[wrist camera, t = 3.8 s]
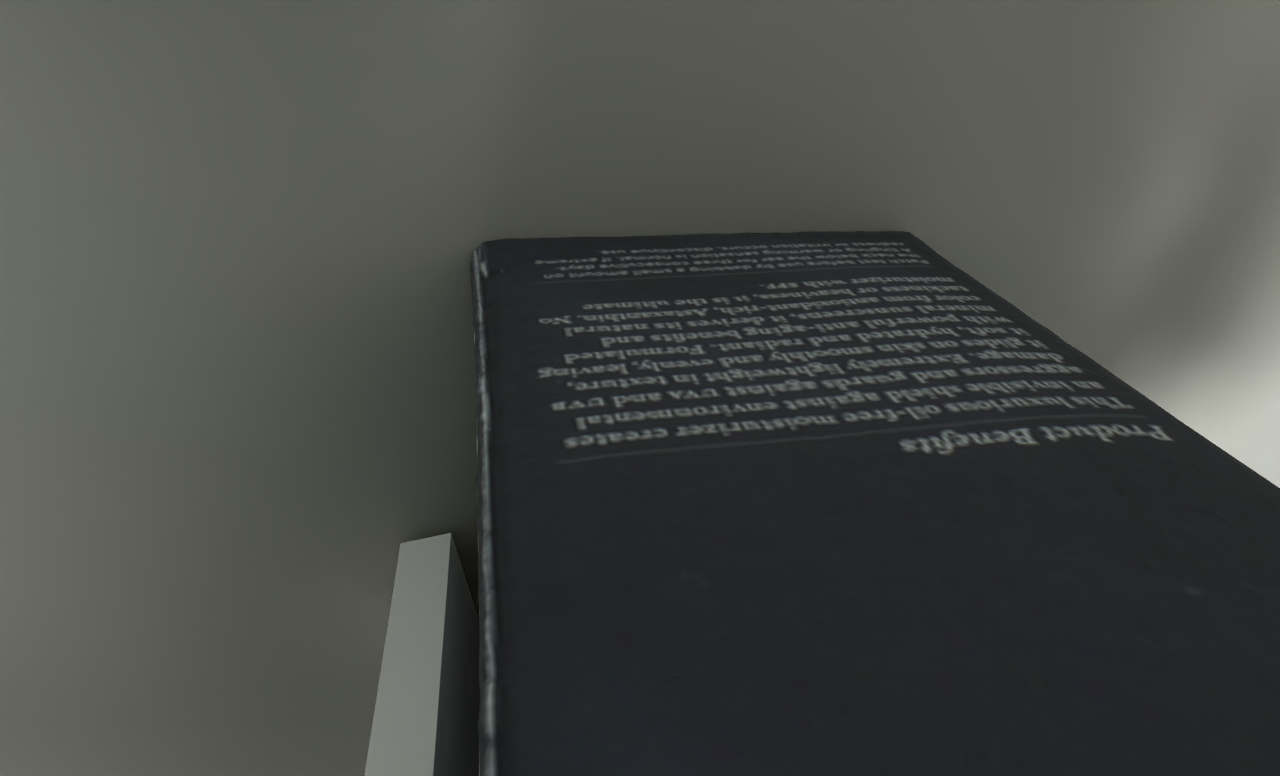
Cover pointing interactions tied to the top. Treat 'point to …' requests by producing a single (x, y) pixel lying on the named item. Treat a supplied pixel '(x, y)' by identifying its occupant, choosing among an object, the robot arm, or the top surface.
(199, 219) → the top surface
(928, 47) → the top surface
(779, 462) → the small box
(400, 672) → the robot arm
